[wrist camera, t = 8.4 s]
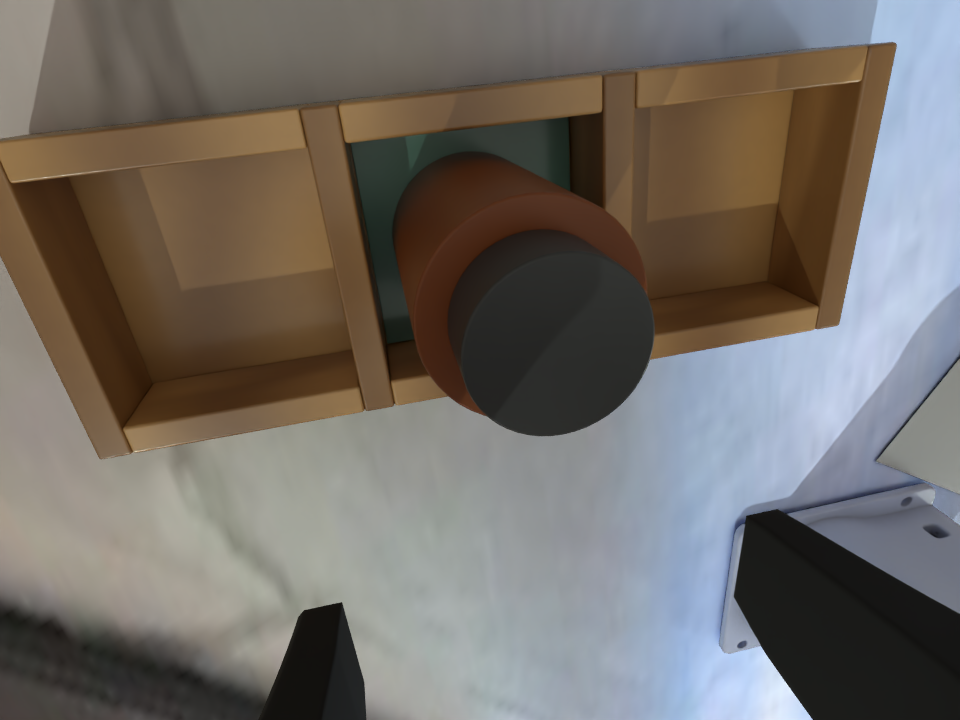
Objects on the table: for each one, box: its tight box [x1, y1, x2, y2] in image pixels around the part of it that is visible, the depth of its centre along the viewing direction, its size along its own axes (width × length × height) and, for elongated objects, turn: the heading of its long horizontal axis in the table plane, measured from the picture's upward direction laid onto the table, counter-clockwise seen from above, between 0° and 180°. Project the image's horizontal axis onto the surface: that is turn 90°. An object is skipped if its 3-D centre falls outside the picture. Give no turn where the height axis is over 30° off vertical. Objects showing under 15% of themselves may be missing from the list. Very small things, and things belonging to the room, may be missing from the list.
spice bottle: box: [392, 151, 655, 436], centre depth 13 cm, size 4×4×8 cm
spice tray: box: [0, 42, 897, 459], centre depth 15 cm, size 21×8×3 cm, turn 96°
